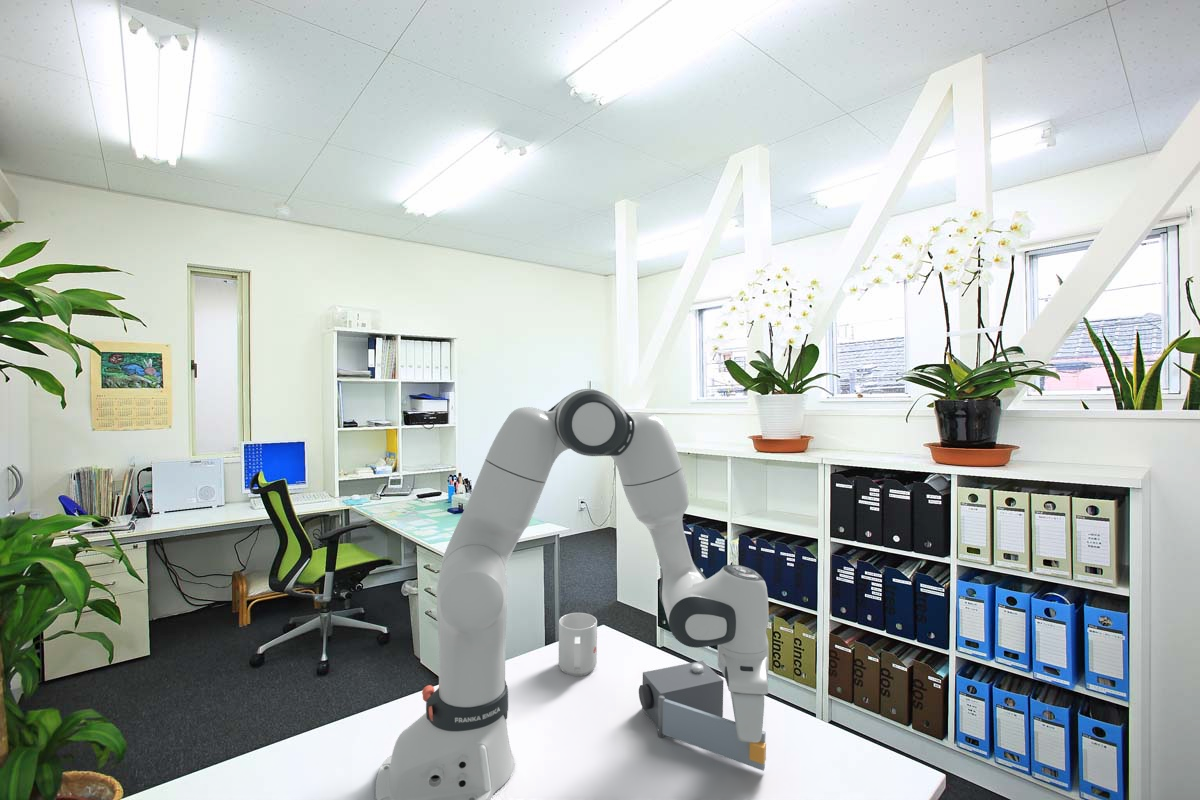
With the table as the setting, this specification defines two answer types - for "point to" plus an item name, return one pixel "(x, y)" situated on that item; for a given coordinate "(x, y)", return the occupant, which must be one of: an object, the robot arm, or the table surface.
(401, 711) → the table surface
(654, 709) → the camera case
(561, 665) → the mug
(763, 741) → the side door
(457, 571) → the robot arm
